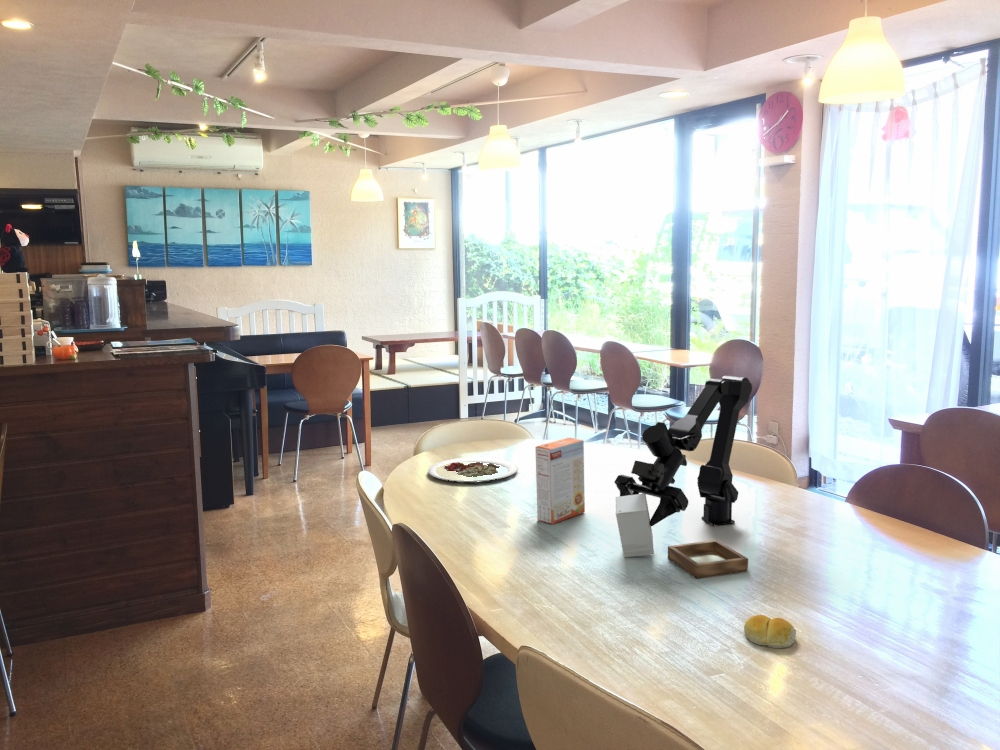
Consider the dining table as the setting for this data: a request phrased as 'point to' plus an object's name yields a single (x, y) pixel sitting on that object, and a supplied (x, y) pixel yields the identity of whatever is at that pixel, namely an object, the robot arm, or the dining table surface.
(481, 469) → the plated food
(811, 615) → the dining table surface
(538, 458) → the cracker box
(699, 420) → the robot arm
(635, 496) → the supplement box
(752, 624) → the bread roll
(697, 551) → the tray
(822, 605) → the dining table surface
